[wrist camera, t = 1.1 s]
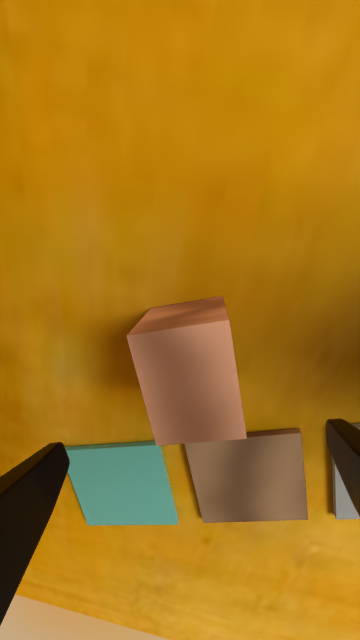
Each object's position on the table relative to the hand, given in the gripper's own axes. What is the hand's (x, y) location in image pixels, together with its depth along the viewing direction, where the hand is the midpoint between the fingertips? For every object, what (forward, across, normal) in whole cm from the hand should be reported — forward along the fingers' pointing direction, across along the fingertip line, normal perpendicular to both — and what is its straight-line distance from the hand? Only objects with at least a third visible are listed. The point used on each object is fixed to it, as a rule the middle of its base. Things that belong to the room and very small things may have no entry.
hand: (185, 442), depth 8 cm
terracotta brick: (+8, 0, 0) cm, 8 cm away
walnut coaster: (+9, -2, +11) cm, 14 cm away
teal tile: (+9, +8, +11) cm, 16 cm away
